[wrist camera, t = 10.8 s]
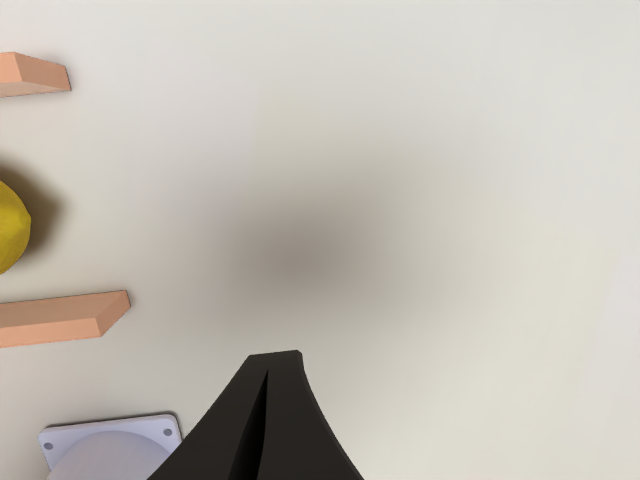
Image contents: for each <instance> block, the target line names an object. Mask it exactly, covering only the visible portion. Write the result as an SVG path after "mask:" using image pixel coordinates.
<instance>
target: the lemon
mask: <svg viewBox="0 0 640 480" xmlns="http://www.w3.org/2000/svg"><path fill="white" fill-rule="evenodd" d="M30 224H31V216H30V215H29V213H28V212H27V210H26V208H25V206H24V204H23V202H22V200H21V199H20V198H19V197H18V196H17V194H16V193H15V192H14V191H13V190H12V189H11V188H9V187H8V186H7V185H6V184H4V183H3V182H2V181H0V274H2V273H4V272H5V271H7V270H8V269H9V268H10V267H11V266H12V265H13V264H14V263H15V262H16V261H17V260H18V259H19V258H20V257H21V255H22V254H23V252H24V250H25V248H26V247H27V245H28V241H29V238H30Z"/></svg>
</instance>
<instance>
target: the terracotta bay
mask: <svg viewBox="0 0 640 480" xmlns="http://www.w3.org/2000/svg"><path fill="white" fill-rule="evenodd" d="M69 90H71V88H70V84H69V80H68V77H67V73H66V69H65V66H61V65H58V64H54V63H51V62H47V61H44V60H40V59H37V58H33V57H30V56H26V55H23V54H19V53H15V52H7V53H0V97H8V96H18V95H28V94H38V93H49V92H59V91H69ZM129 308H130V303H129V300H128V296H127V292H126V290H124V291H115V292H106V293H97V294H87V295H78V296H69V297H59V298H50V299H41V300H31V301H22V302H13V303H4V304H0V348H5V347H14V346H23V345H32V344H41V343H51V342H60V341H69V340H78V339H87V338H96V337H102V336H103V335H104V334H105V333H106V331H107V330H108V329H109V328H110V327H111V326H112V325H113V324H114V323H115V322H116V321H117V320H118V319H119V318H120V317H121V316H122V315H123V314H124V313H125V312H126V311H127V310H128V309H129Z"/></svg>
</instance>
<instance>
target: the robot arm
mask: <svg viewBox="0 0 640 480" xmlns="http://www.w3.org/2000/svg"><path fill="white" fill-rule="evenodd" d="M167 429H170V430H171V431H169V430H167ZM38 441H39V444H40V446H41V449H42V451H43V454H44V456H45V459H46V461H47V464H48V466H49V469H50V471H51V473H50V474H49V476H48V477H47V478H46V480H364V479H363V477H362V476H361V474H360V473H359V472H358V470H357V469H356V467H355V466H354V465H353V463H352V462H351V460H350V459H349V457H348V456H347V454H346V453H345V451H344V450H343V448H342V446H341V445H340V443H339V442H338V440H337V438H336V437H335V435H334V433H333V432H332V430H331V428H330V426H329V424H328V423H327V421H326V419H325V417H324V415H323V413H322V411H321V409H320V407H319V405H318V403H317V401H316V399H315V397H314V394H313V392H312V390H311V388H310V385H309V383H308V380H307V377H306V374H305V371H304V365H303V358H302V353H301V352H299V351H298V350H291V351H283V352H274V353H265V354H256V355H249V356H248V358H247V359H246V360H245V361H244V363H243V364H242V366H241V367H240V368H239V370H238V371H237V373H236V374H235V375H234V377H233V378H232V380H231V381H230V382H229V384H228V385H227V386H226V388H225V389H224V390H223V392H222V393H221V394H220V396H219V397H218V398H217V400H216V401H215V402H214V403H213V405H212V406H211V407H210V409H209V410H208V411H207V412H206V414H205V415H204V416H203V417H202V419H201V420H200V421H199V422H198V423H197V425H196V426H195V427H194V428H193V429H192V430H191V432H190V433H189V434H188V435H187V436H186V437H185V439H184V440H183V441H182V440H181V436H180V432H179V428H178V424H177V421H176V418H175V417H174V416H172V415H170V414H165V415H156V416H147V417H138V418H129V419H121V420H112V421H103V422H94V423H86V424H77V425H68V426H59V427H51V428H45V429H43V430H42V431H41V432H40V433H39V435H38Z"/></svg>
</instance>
